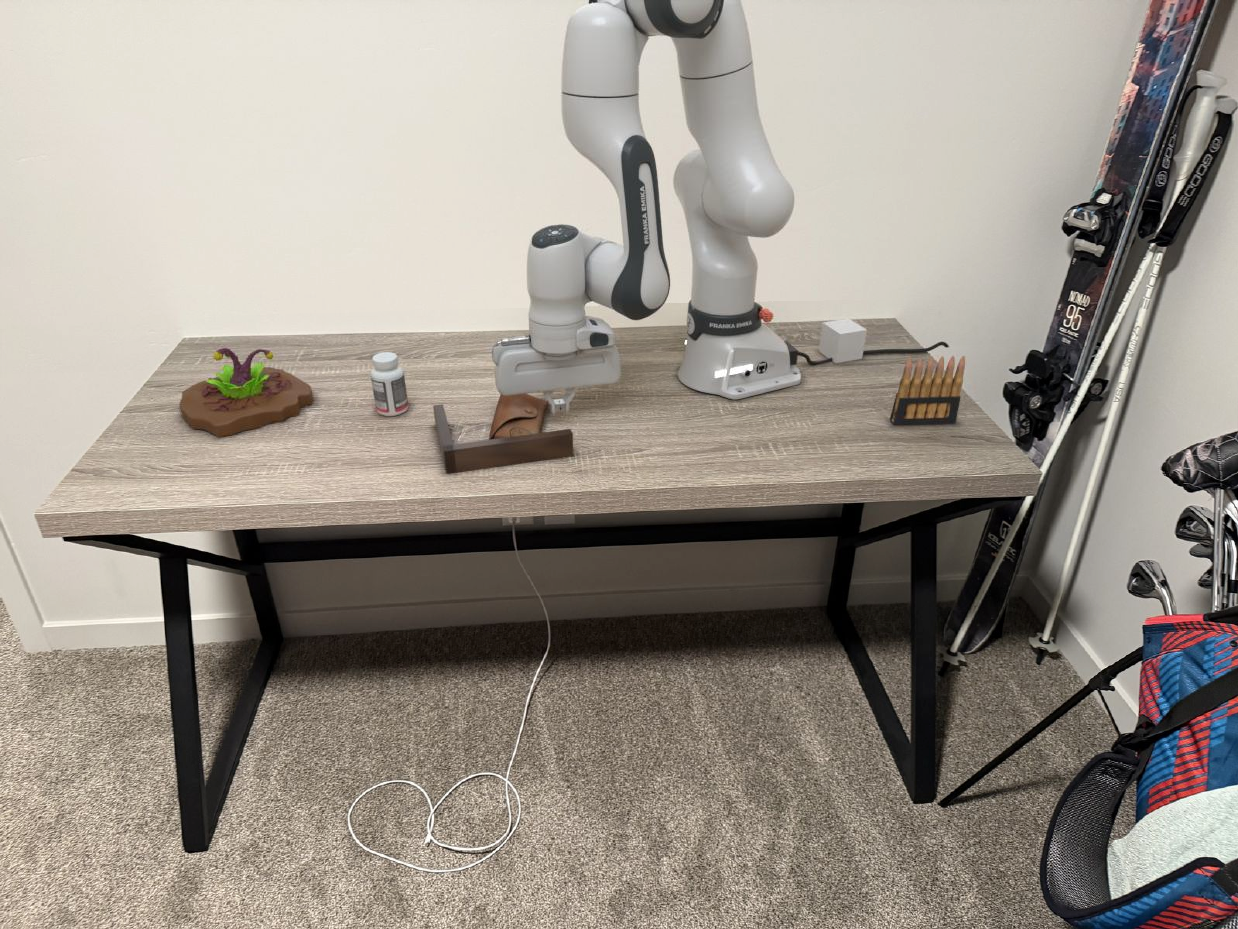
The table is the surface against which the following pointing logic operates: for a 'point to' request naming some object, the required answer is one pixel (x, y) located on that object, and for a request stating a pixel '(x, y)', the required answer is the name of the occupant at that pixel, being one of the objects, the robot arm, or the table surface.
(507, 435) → the sunglasses case
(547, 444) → the bracket
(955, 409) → the ammunition clip
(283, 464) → the table surface
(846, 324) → the white cube
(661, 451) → the table surface
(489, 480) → the table surface
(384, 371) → the pill bottle
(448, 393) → the table surface
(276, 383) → the plant
